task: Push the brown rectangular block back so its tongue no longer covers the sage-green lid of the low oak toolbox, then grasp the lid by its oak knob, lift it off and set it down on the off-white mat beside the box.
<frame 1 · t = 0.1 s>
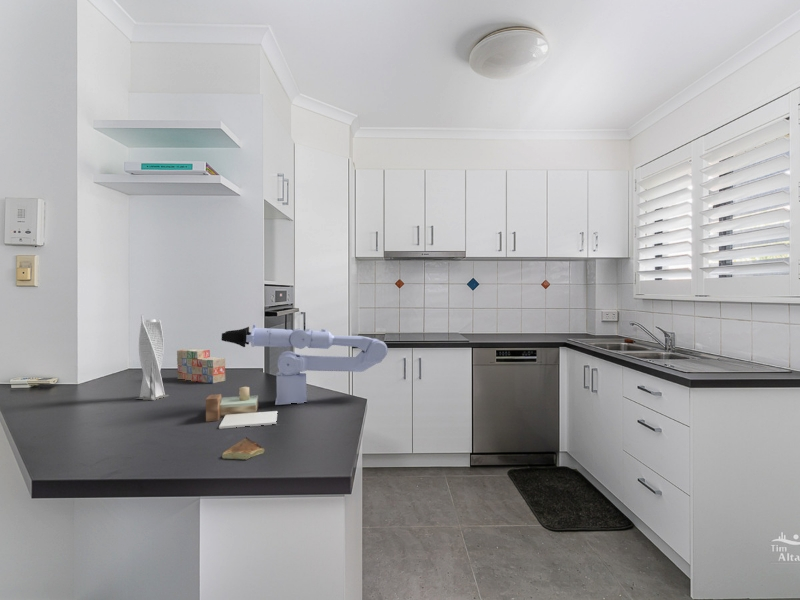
hand: (223, 335, 139), 22 cm above the countertop, tool horizontal, fingers open, 7 cm apart
brown rectangular block: (213, 407, 125), point 3 cm above the countertop, slide at 0.0 cm
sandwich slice: (239, 455, 97), on the countertop
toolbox: (233, 411, 132), on the countertop
stack of blocks: (201, 380, 184), on the countertop
lid: (233, 403, 132), point 2 cm above the countertop, touching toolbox
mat: (250, 420, 122), on the countertop
skyscraper: (151, 398, 152), on the countertop
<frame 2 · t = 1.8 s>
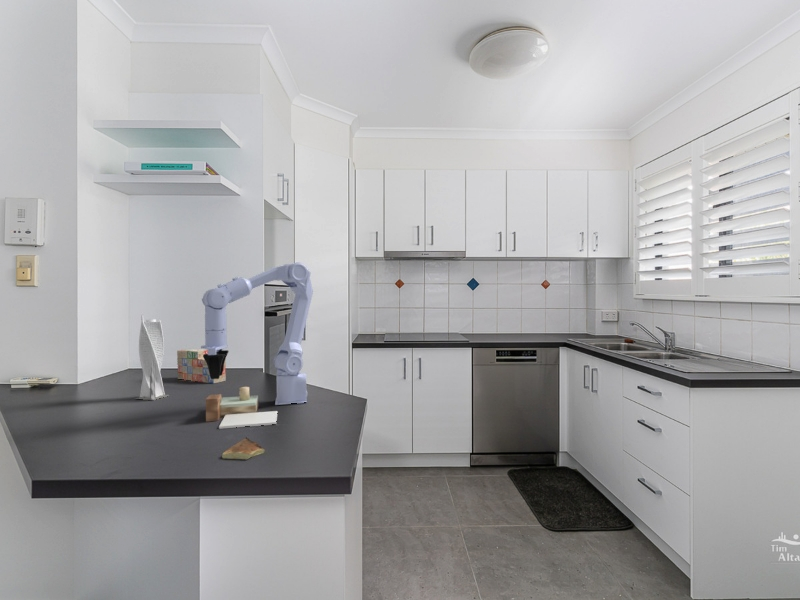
hand: (216, 377, 130), 10 cm above the countertop, tool pointing down, fingers open, 5 cm apart
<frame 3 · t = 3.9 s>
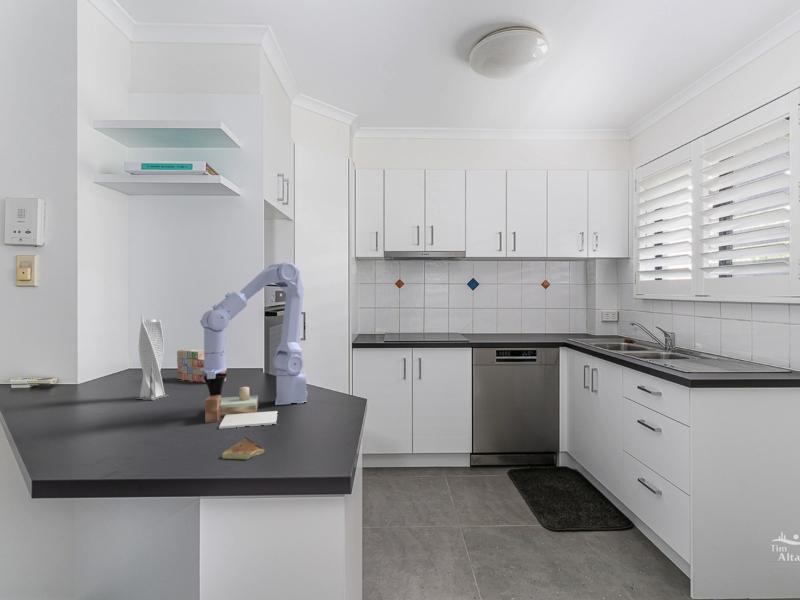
hand: (215, 399, 129), 4 cm above the countertop, tool pointing down, fingers closed
brown rectangular block: (213, 407, 124), point 3 cm above the countertop, slide at 1.0 cm, touching gripper
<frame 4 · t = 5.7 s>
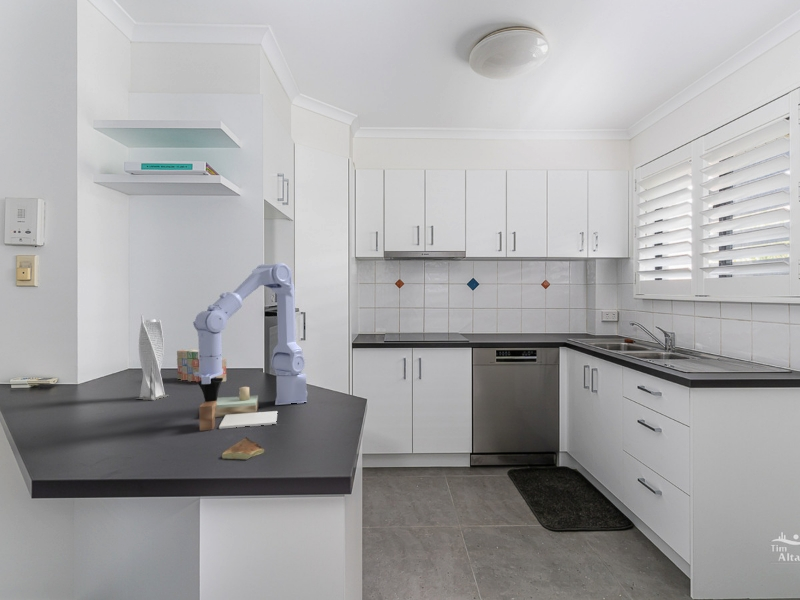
hand: (211, 406, 121), 4 cm above the countertop, tool pointing down, fingers closed
brown rectangular block: (208, 414, 117), point 3 cm above the countertop, slide at 8.6 cm, touching gripper
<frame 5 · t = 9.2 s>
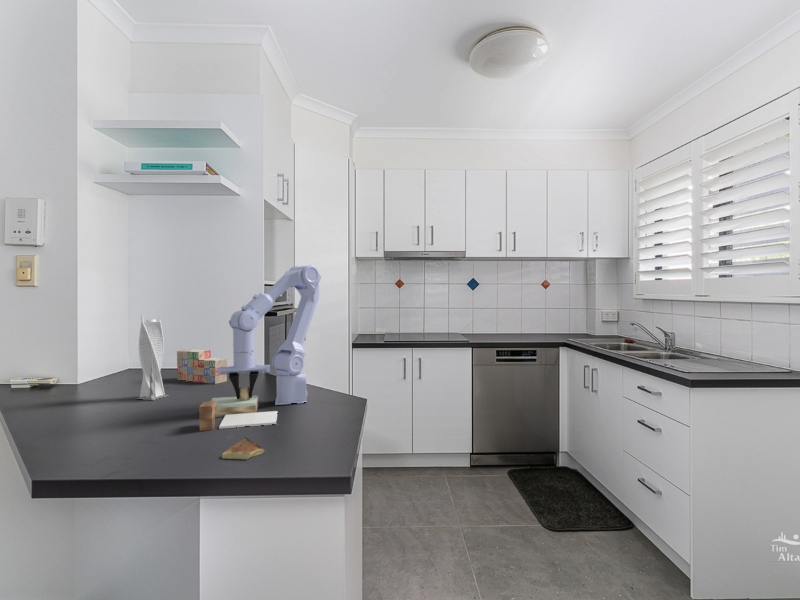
hand: (244, 397, 133), 4 cm above the countertop, tool pointing down, fingers closed on lid, 3 cm apart
brown rectangular block: (208, 414, 117), point 3 cm above the countertop, slide at 8.6 cm
lid: (233, 403, 132), point 2 cm above the countertop, touching gripper, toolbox
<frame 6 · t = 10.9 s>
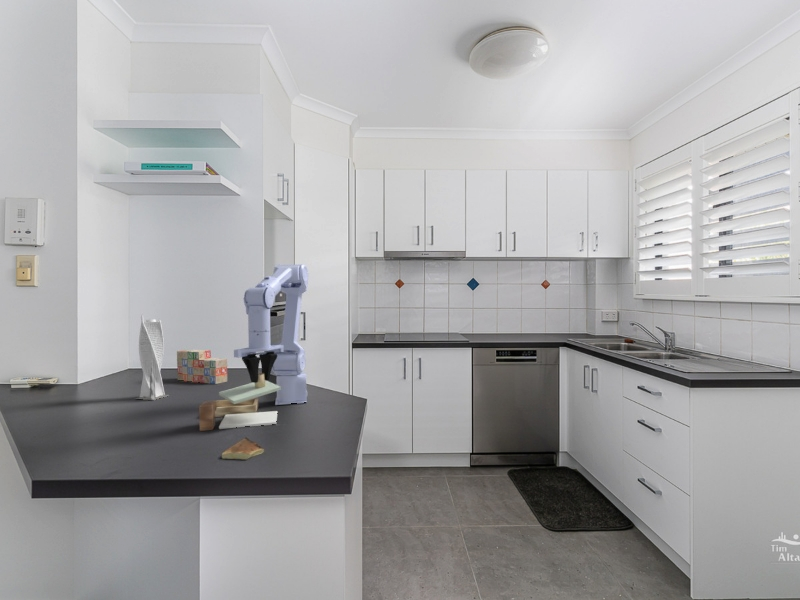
hand: (260, 381, 123), 10 cm above the countertop, tool pointing down, fingers closed on lid, 3 cm apart
lid: (250, 392, 122), point 8 cm above the countertop, tilted 9°, touching gripper
when the fingers open (3 cm above the countertop, at t = 12.7 s): lid stays where it is, resting on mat.
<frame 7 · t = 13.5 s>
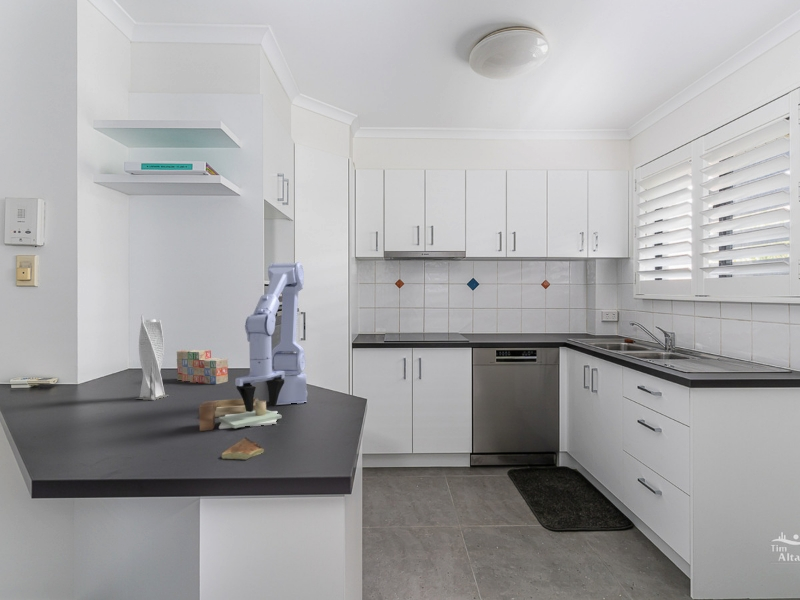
hand: (261, 408, 123), 3 cm above the countertop, tool pointing down, fingers open, 7 cm apart
lid: (250, 419, 121), point 1 cm above the countertop, touching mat
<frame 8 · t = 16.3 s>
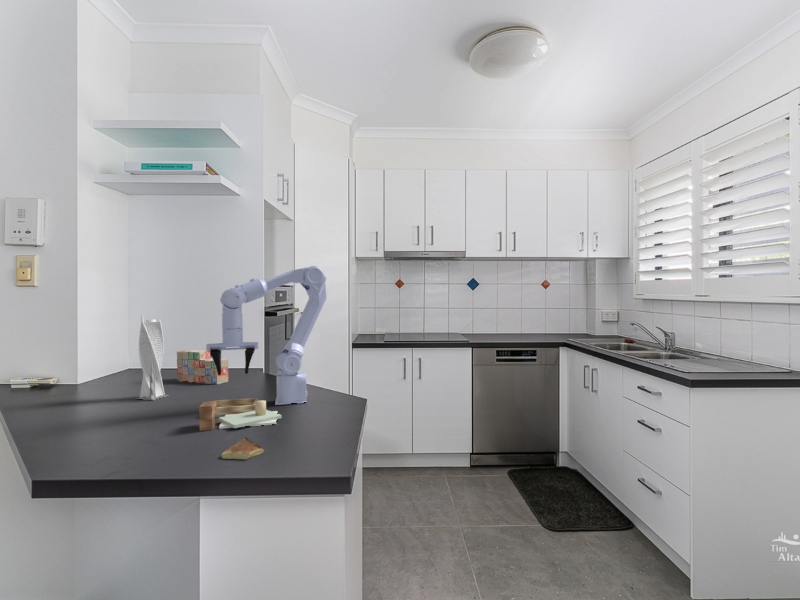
hand: (233, 373, 136), 10 cm above the countertop, tool pointing down, fingers open, 7 cm apart
at the end: brown rectangular block slide at 8.6 cm; lid inside the target area on the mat (1.2 cm from its centre), point 0.6 cm above the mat's base; the gripper is holding nothing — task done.
